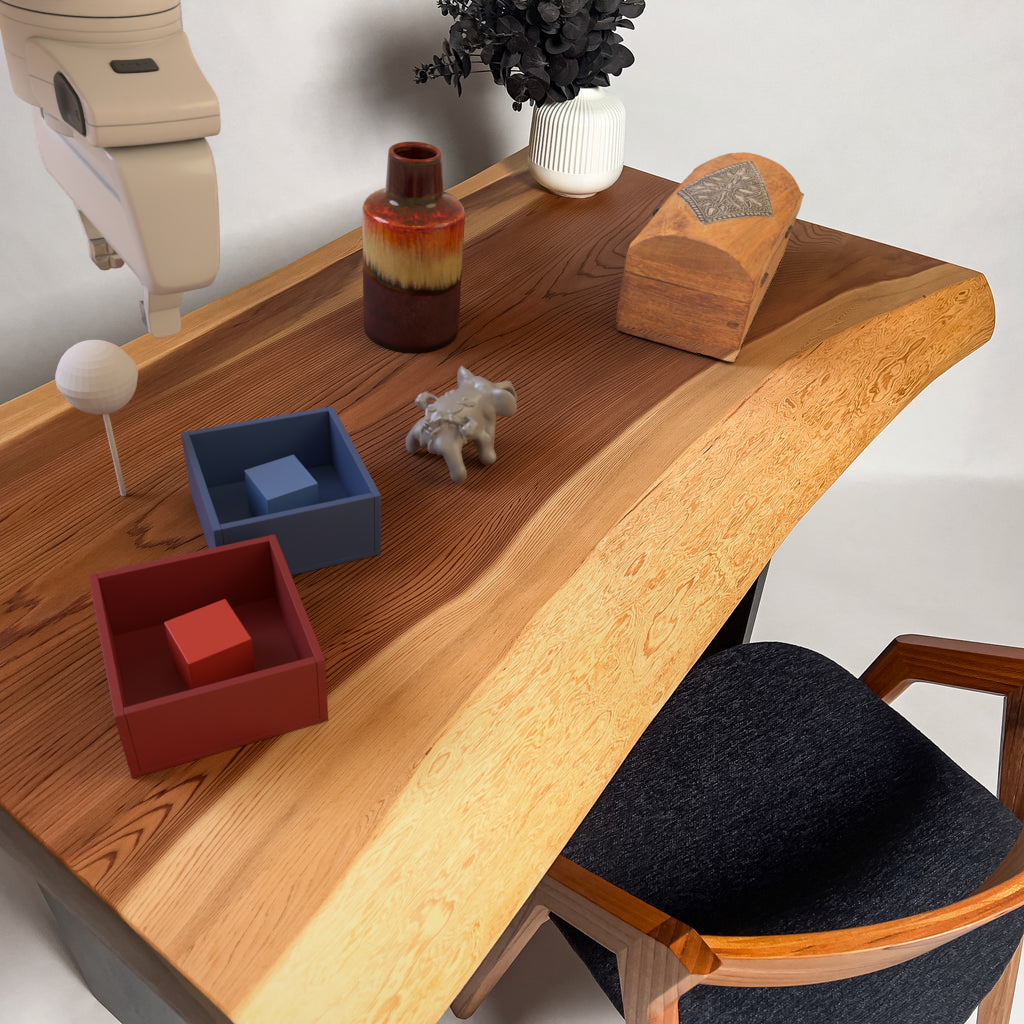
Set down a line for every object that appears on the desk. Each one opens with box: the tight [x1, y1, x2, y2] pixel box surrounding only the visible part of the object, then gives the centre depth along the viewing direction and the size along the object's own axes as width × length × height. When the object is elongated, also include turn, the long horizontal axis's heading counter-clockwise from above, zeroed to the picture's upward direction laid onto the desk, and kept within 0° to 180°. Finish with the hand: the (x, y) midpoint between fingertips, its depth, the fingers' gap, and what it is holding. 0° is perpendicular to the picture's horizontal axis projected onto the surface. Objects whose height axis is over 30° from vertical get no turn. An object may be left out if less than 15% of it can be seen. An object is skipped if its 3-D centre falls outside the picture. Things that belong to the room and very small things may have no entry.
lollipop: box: [54, 339, 139, 497], centre depth 79 cm, size 6×6×15 cm
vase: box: [361, 141, 466, 354], centre depth 103 cm, size 11×11×20 cm
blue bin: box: [180, 405, 382, 576], centre depth 81 cm, size 13×13×6 cm
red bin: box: [87, 534, 329, 779], centre depth 68 cm, size 13×13×6 cm
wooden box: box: [615, 151, 805, 354], centre depth 118 cm, size 30×16×14 cm, turn 156°
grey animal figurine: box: [405, 365, 518, 484], centre depth 91 cm, size 9×12×8 cm
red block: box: [164, 599, 256, 690], centre depth 68 cm, size 4×4×4 cm
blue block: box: [244, 455, 319, 517], centre depth 81 cm, size 4×4×4 cm
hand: (134, 296), depth 59 cm, fingers open, 8 cm apart
